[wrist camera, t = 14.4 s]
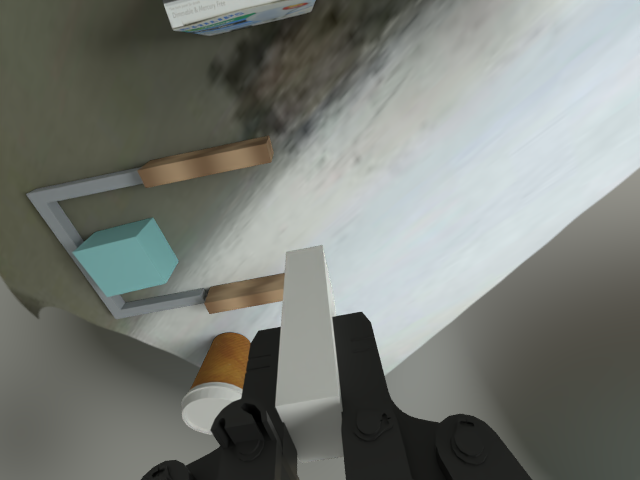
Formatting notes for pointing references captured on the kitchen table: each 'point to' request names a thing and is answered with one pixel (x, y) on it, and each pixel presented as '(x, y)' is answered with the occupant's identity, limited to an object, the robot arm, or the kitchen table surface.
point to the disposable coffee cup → (216, 381)
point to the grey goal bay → (72, 240)
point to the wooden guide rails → (213, 163)
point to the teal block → (127, 257)
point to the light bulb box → (230, 13)
